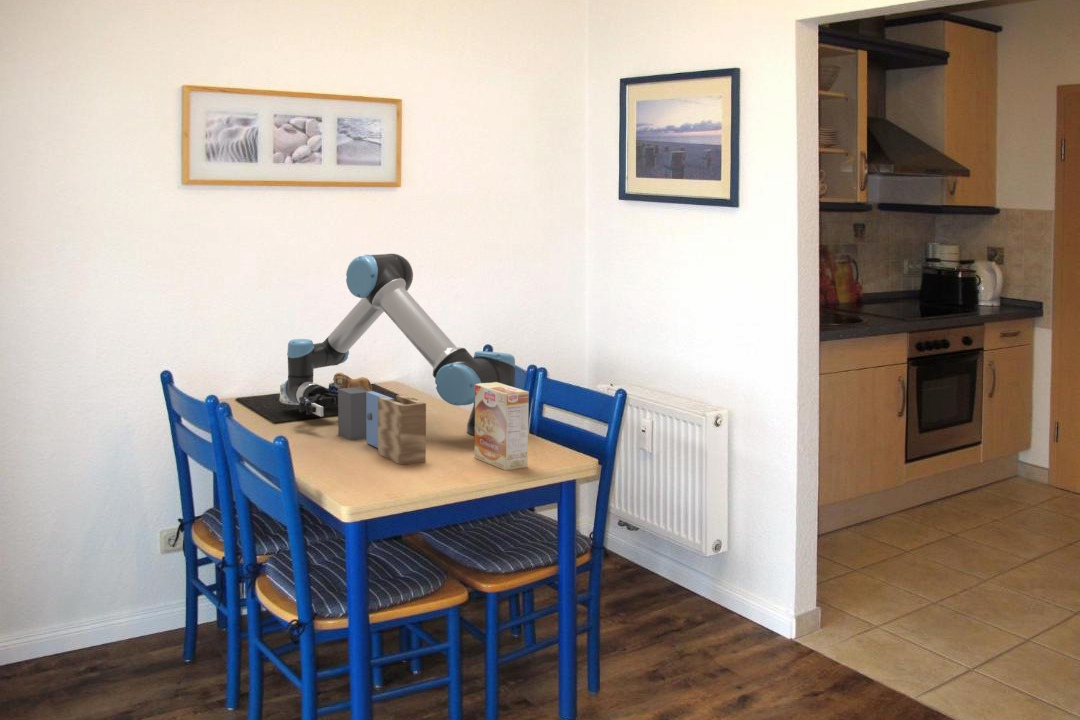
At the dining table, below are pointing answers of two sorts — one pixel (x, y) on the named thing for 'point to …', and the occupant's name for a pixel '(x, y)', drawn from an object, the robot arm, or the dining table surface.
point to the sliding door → (372, 417)
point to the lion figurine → (351, 382)
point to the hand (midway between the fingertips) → (344, 409)
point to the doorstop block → (352, 413)
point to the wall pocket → (402, 429)
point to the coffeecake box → (501, 425)
